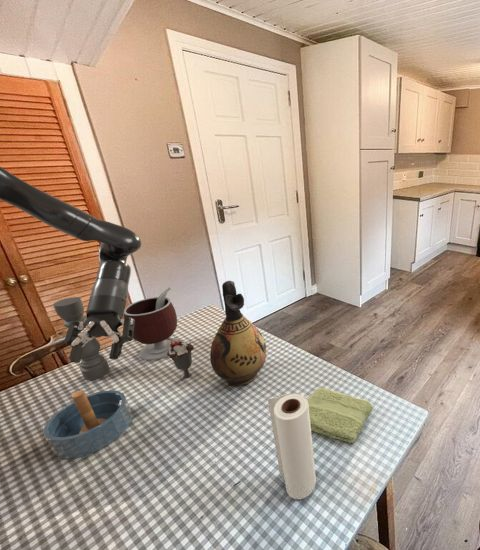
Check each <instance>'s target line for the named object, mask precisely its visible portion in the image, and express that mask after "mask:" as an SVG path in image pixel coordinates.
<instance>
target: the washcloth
mask: <svg viewBox="0 0 480 550" xmlns="http://www.w3.org/2000/svg"><path fill="white" fill-rule="evenodd" d="M306 399H307V401H308V405H309V415H310V425H311V432H315V433H317V434H319V435H323V436H326V437H328V438H329V437H330V438H332V439H336V440H339V441H342V442H347V443H349V444H351V443H356V442H357V440H358V438H359V434H360V433H361V431H362V429H363V427H364V423H365V421H366V420H367V419H368V418H369V416H370V414H371V413H372V411H373V410H374V405H373V404H372V403H371V402H370V401H369V400H367V399H363V398H359V397H358V398H357V397H354V396H352V395H349V394H346V393H342V392H338V391H335V390H333V389H330V388H327V387H318V388H316V389H315V390H314V391H313V392H312V393H311V395H309V396H308V398H306Z"/></svg>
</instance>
